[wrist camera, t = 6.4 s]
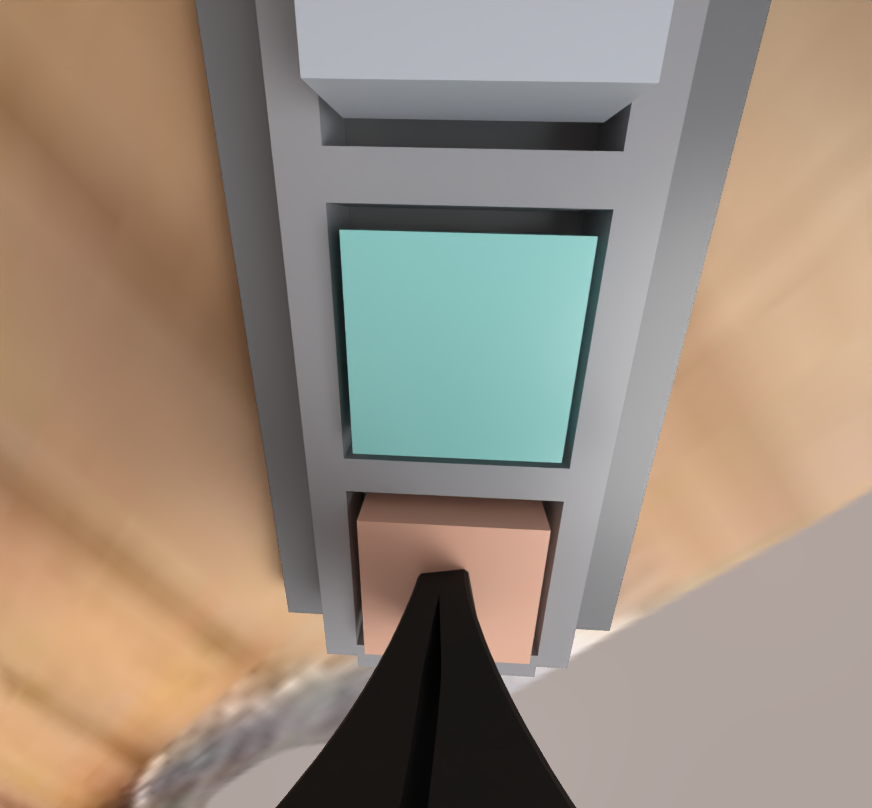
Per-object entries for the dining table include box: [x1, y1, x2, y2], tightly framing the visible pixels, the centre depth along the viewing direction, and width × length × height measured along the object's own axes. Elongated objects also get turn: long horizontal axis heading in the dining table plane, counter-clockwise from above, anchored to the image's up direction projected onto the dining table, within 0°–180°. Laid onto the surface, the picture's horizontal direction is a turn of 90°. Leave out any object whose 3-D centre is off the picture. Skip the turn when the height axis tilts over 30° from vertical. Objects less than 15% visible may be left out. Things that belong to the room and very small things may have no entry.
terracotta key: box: [357, 492, 551, 664], centre depth 13 cm, size 5×5×2 cm
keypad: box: [195, 0, 771, 677], centre depth 10 cm, size 12×29×3 cm, turn 179°
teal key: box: [339, 229, 598, 463], centre depth 10 cm, size 5×5×2 cm
